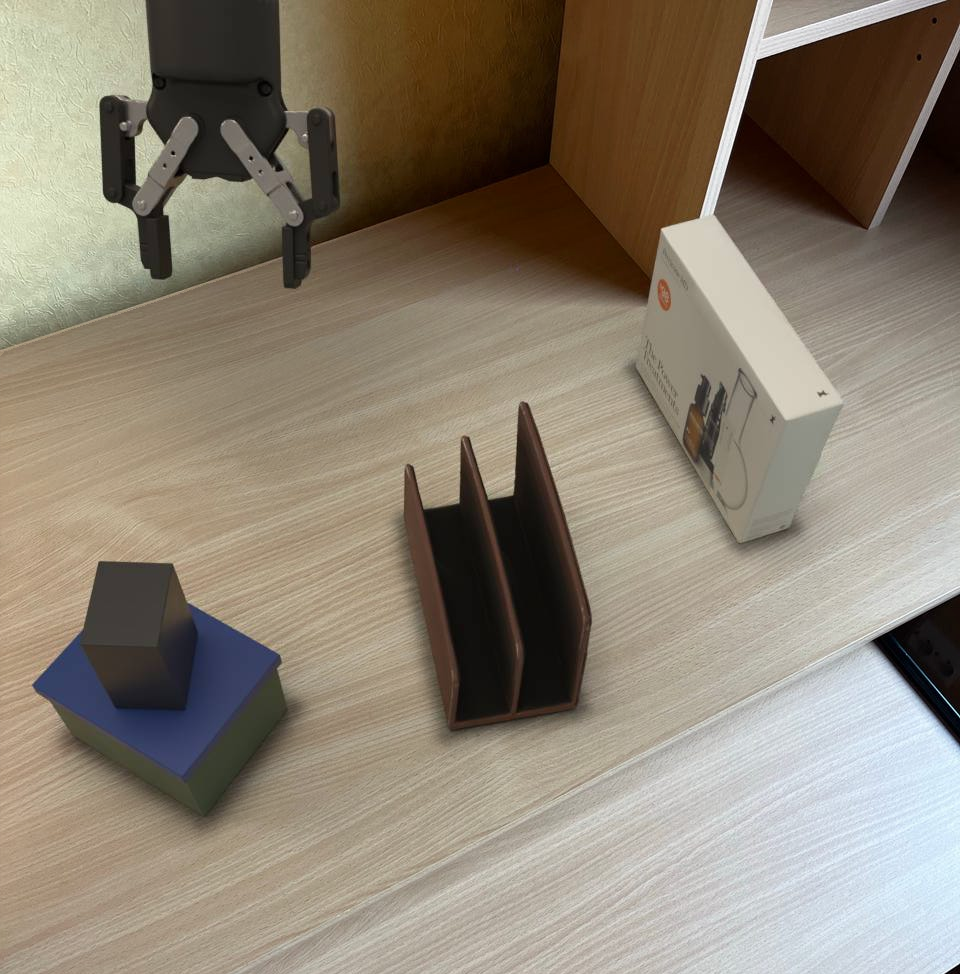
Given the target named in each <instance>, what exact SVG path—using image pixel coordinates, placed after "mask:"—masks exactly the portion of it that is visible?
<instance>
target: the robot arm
mask: <svg viewBox="0 0 960 974" xmlns="http://www.w3.org/2000/svg"><path fill="white" fill-rule="evenodd" d="M144 1H145V12H146V13H145V14H146V15H145V16H146V29H147V41H148V42H147V43H148V55H149V69H150V77H151V84H152V85H151V92H150V95H149V98H148V100H140V99H133V98H130V97H129V96H127V95H125V94H109V95H103V96H102V97H101V99H100V100H99V103H98V107H99V108H98V109H99V110H98V111H99V133H100V135H99V136H100V156H101V157H100V158H101V180H102V181H101V184H102V195H103V198H105V200H106V201H107V202H108V203H111V204H118V205H120V206H123V207H124V208H125V207H126V209H129V210H130V211H132V212H133V214H134V215H135V217H136V220H137V222H136V223H137V233H138V243H139V255H140V262H141V264H142V267H143V269H144V270H149V274H150V278H151V279H152V280H158V281H164V280H167V279H169V278H171V277H172V275H173V255H172V243H171V228H170V215H169V214H164V209H165V206H166V205H167V204H168V202H169V200H170V199H171V197H172V196H173V194H174V193H175V192H176V190H177V189H178V187H179V186H181V184H182V183H183V182H184V181H185V179H186V178H187V176H189V177H191V179H192V180H200V181H201V180H203V181H204V180H209V179H213V178H219V179H222V180H225V181H227V182H231V183H232V182H233V183H244V182H248V181H251V180H253V181H254V182H255V183H256V184H257V186H258V187H259V189H260V191H261V192H262V193H263V194H264V195H265V196H266V197H267V198H269V199H270V201H271V202H272V204H273V205H274V206H275V208H276V210H277V211H278V212H279V214H280V215H281V217H282V218H283V220H284V221H285V225H283V226H281V248H282V249H281V250H282V251H281V252H282V253H281V255H282V284H283V289H289V290H290V289H292V290H296V289H298V288H299V287H301V286H302V283H303V281H304V280H305V279H307V278H308V277H309V276H310V273H311V270H312V237H311V236H312V234H311V232H312V231H311V230H312V225H313V223H314V222H315V221H316V220H319V219H322V218H326V217H328V216H330V215H333V214H334V213H336V212H338V210H339V209H340V206H341V193H340V176H339V159H338V143H337V142H338V141H337V127H336V116H335V113H334V112H333V110H332V109H330V107H314V108H312V109H310V110H289V109H288V107H287V105H286V103H285V101H284V97H283V93H282V62H281V61H282V60H281V55H282V54H281V21H280V0H144ZM146 121H148V124H149V125H150V127H151V128H152V130H153V131H154V133H155V134H156V135H157V137H158V139H159V140H160V141H161V142H162V144H163V145H164V146H163V148H162V149H161V151H160V152H159V154H158V155H157V158H156V159H155V161H154V162H153V163H152V165H151V167H149V170H148V171H147V177H146V178H145V180H144V182H143V183H142V184H141V186H140V185H138V184H137V165H136V164H137V163H136V137H139V136H140V135H141V134H142V133H143V129H144V124H145V122H146ZM289 130H292V131H293V132H294V133H295V135H296V138H297V141H298V144H299V145H300V146H301V147H302V148H303V149H306V150H308V158H309V161H308V162H309V175H310V187H311V189H310V190H311V198H308V199H306V198H305V197H304V195H303V194H302V192H301V190H300V189H299V188H298V186H297V185H296V183H295V181H294V177H293V176H292V174H291V172H290V171H289V169H288V167H287V166H286V165H285V164H284V162H283V160H282V158H280V156H279V155H278V153H277V152H276V151H277V149H278V148H279V146H280V144H281V143H282V142H283V141H284V139H285V137H286V136H287V134H288V133H289Z"/></svg>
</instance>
